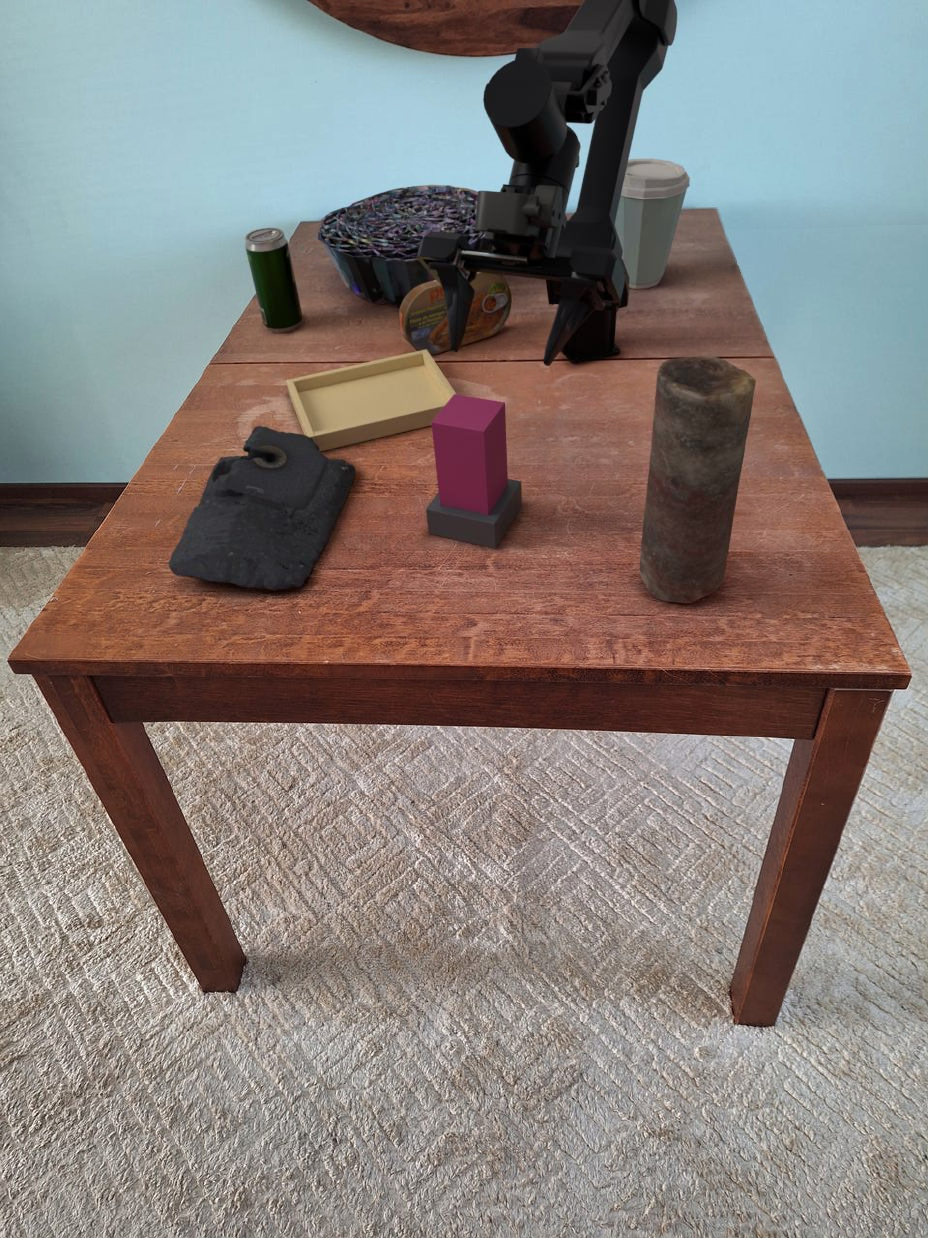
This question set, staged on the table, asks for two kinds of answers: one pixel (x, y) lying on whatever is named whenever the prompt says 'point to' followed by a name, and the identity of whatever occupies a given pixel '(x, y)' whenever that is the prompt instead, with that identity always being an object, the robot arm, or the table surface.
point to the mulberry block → (471, 453)
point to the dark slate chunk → (264, 513)
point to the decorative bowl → (395, 237)
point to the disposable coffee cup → (649, 217)
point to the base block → (476, 519)
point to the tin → (428, 313)
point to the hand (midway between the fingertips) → (499, 357)
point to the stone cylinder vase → (693, 475)
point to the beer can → (274, 279)
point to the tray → (369, 399)
